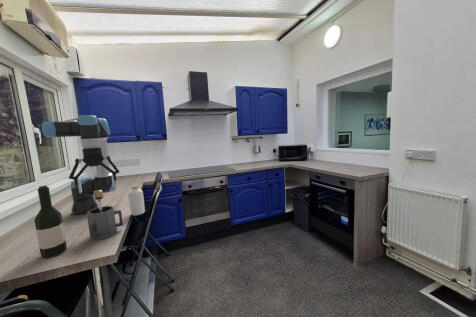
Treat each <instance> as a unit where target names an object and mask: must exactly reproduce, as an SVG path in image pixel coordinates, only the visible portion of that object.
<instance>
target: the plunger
mask: <svg viewBox="0 0 476 317" xmlns="http://www.w3.org/2000/svg"><path fill="white" fill-rule="evenodd" d="M94 199H95V201H98V202H97V204H98V208H99V210H100V213H101V212H102V207H103V206H102V201H101V200H102V199H104V193H103V191H102V190H97V191H94Z"/></svg>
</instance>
